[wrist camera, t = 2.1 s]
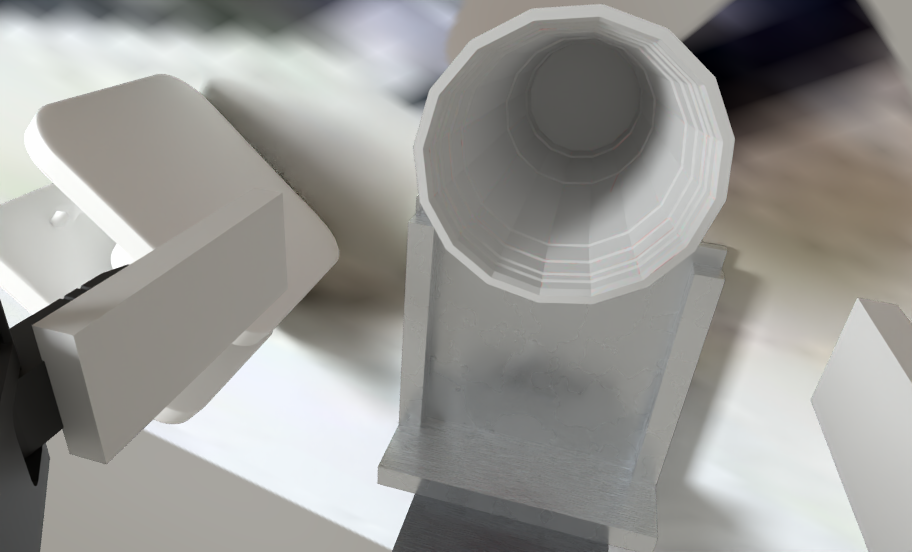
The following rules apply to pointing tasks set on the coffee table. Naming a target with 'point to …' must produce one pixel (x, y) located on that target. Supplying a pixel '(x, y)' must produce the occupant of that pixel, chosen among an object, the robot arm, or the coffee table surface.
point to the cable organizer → (145, 204)
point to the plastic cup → (573, 154)
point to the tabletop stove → (539, 406)
